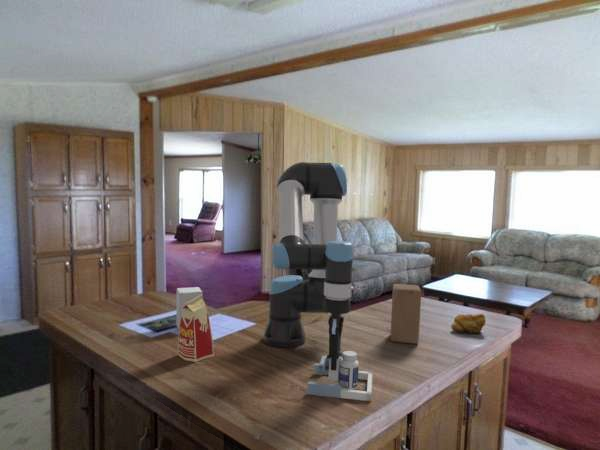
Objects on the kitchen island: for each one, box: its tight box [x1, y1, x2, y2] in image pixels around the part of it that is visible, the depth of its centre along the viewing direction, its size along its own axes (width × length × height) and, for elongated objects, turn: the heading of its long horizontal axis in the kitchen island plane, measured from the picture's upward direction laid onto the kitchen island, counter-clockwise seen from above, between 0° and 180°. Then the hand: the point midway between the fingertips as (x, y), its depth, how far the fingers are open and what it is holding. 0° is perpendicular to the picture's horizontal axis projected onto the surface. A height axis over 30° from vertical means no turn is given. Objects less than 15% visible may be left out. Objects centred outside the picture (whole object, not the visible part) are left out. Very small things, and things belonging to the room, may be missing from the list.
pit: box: [322, 366, 329, 377], centre depth 137 cm, size 6×7×1 cm
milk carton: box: [177, 294, 215, 363], centre depth 146 cm, size 9×9×20 cm
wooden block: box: [390, 283, 422, 345], centre depth 168 cm, size 10×10×20 cm
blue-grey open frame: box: [306, 355, 343, 399], centre depth 131 cm, size 10×21×3 cm, turn 170°
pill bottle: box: [338, 350, 360, 390], centre depth 127 cm, size 5×5×10 cm
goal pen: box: [340, 370, 373, 402], centre depth 127 cm, size 8×14×2 cm, turn 170°
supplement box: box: [175, 286, 204, 331], centre depth 175 cm, size 9×9×15 cm
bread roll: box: [450, 313, 487, 335], centre depth 181 cm, size 13×10×8 cm
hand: (333, 379), depth 127 cm, fingers closed
